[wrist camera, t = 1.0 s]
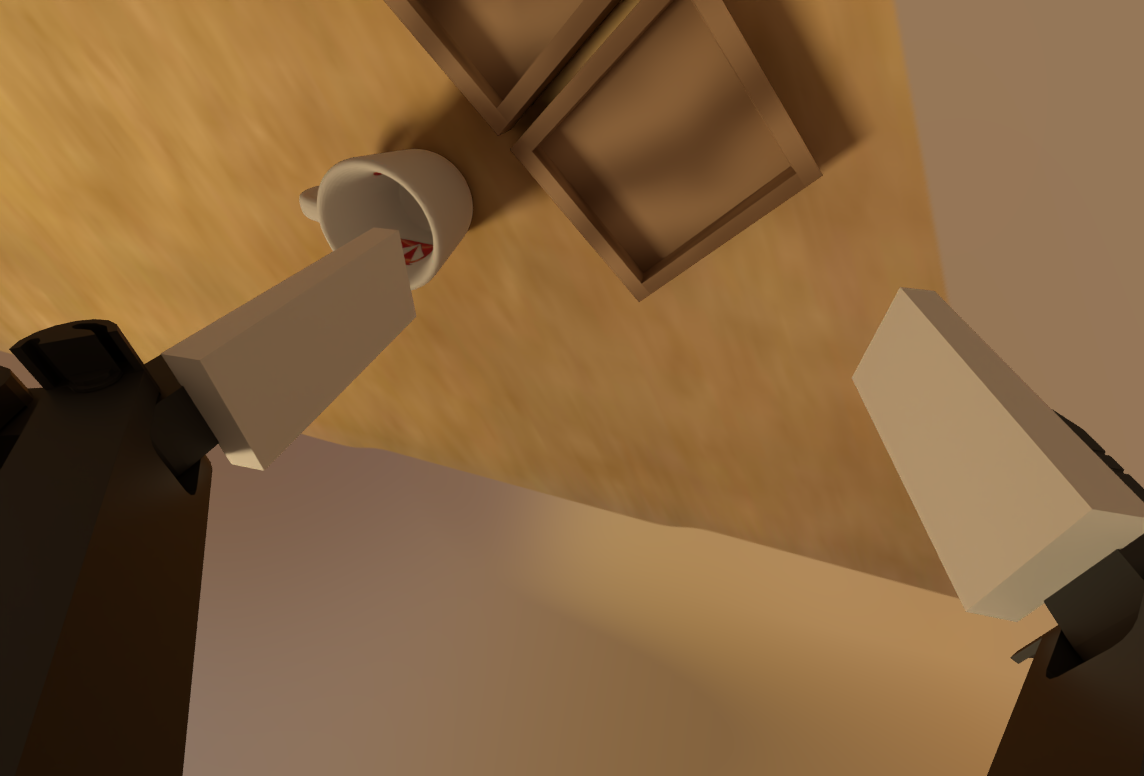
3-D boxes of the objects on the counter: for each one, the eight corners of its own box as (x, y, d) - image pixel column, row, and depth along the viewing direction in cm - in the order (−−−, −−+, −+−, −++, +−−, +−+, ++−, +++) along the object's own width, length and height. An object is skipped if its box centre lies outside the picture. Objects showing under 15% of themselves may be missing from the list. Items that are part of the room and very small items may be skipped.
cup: (360, 233, 36) (292, 273, 30) (338, 120, 31) (251, 140, 25) (488, 257, 35) (445, 303, 29) (486, 144, 30) (434, 171, 24)
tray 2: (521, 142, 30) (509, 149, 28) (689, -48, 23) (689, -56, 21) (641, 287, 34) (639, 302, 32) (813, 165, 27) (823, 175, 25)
